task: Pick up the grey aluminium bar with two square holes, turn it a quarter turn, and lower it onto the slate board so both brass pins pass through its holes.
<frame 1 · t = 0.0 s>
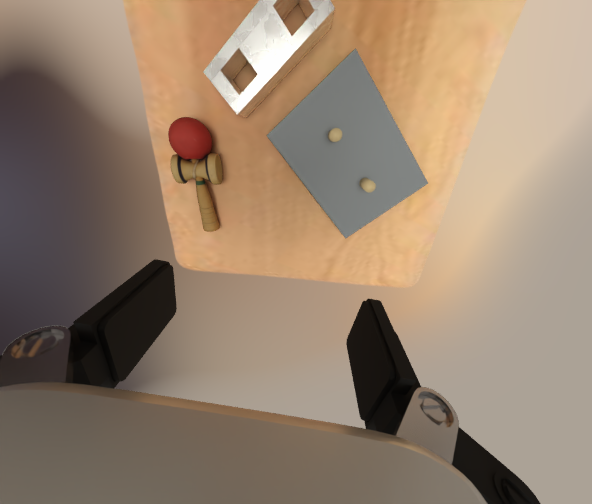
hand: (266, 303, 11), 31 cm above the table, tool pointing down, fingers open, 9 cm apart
kendama: (207, 178, 39), on the table
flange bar: (271, 56, 31), on the table
pin board: (348, 159, 36), on the table
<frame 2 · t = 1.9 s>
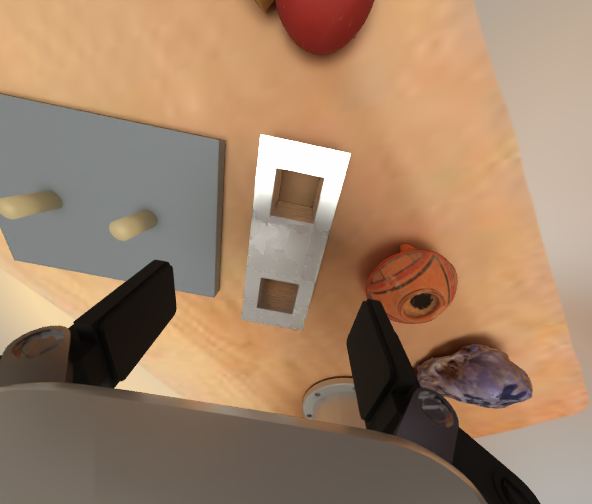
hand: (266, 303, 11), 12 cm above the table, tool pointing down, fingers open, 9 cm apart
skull: (446, 358, 29), on the table
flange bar: (290, 231, 22), on the table
pin board: (113, 205, 22), on the table
pot: (396, 269, 24), on the table
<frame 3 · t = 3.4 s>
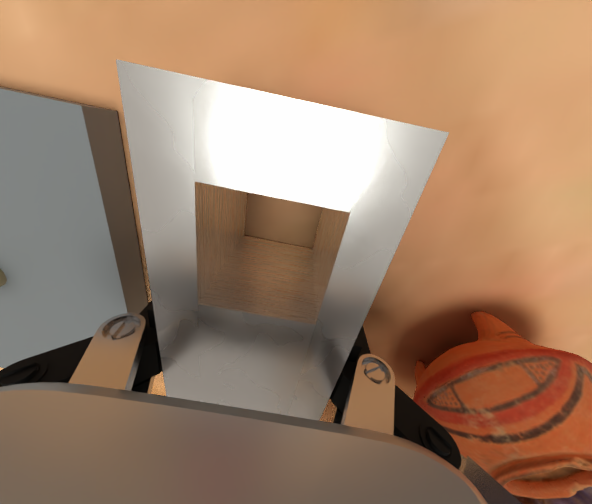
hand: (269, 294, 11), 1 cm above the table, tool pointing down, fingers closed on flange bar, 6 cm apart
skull: (506, 454, 20), on the table
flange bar: (270, 287, 12), on the table, touching gripper
pot: (456, 345, 14), on the table
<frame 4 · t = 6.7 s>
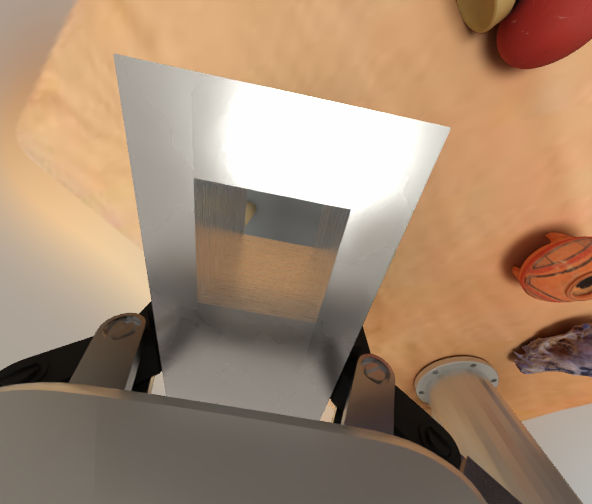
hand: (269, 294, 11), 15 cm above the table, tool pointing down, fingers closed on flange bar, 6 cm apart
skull: (549, 337, 32), on the table
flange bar: (270, 286, 12), point 15 cm above the table, touching gripper
pin board: (290, 210, 25), on the table
pot: (534, 255, 26), on the table
when the fingers open (3 cm above the table, at t = 9.8 s): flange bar stays where it is, resting on pin board.
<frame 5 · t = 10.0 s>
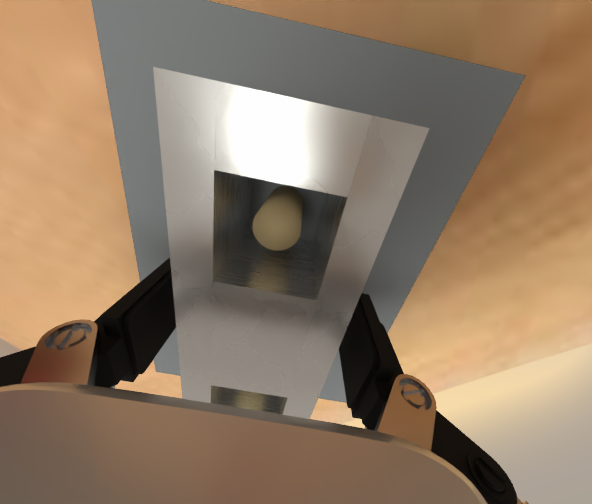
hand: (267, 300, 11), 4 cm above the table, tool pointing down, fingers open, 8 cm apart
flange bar: (274, 276, 13), point 1 cm above the table, touching pin board
pin board: (276, 264, 14), on the table
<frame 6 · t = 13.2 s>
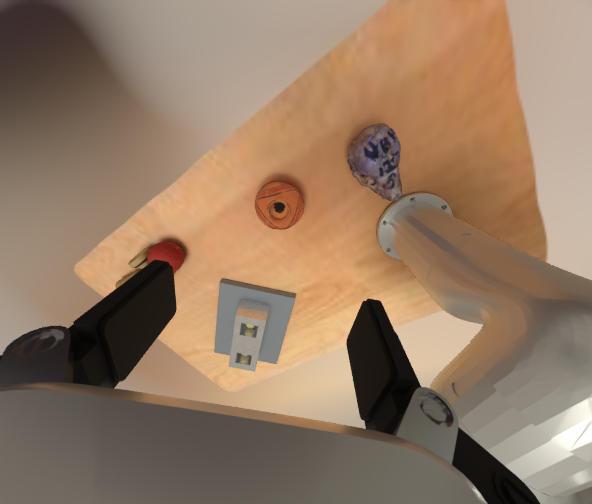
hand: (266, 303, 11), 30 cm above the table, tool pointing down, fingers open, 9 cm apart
kendama: (156, 264, 46), on the table
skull: (374, 166, 35), on the table
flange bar: (251, 327, 50), point 1 cm above the table, touching pin board
pin board: (252, 322, 52), on the table
pot: (281, 201, 38), on the table
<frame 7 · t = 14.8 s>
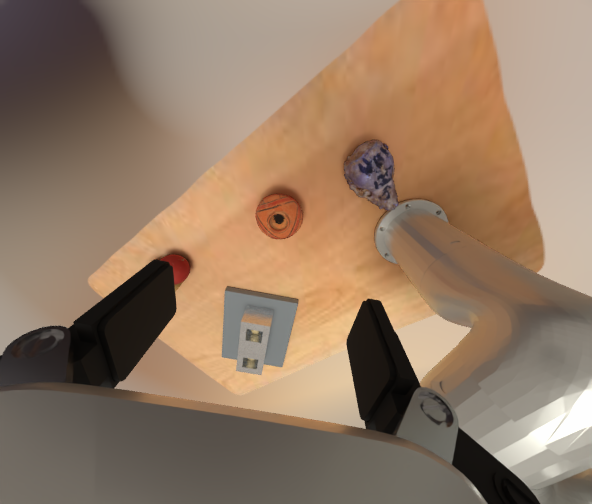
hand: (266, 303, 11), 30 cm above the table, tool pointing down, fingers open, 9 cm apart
kendama: (163, 275, 48), on the table
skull: (370, 178, 37), on the table
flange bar: (256, 332, 52), point 1 cm above the table, touching pin board
pin board: (257, 328, 54), on the table
pot: (281, 211, 40), on the table
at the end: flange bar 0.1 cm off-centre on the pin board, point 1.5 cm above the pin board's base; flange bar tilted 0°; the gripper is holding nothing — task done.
